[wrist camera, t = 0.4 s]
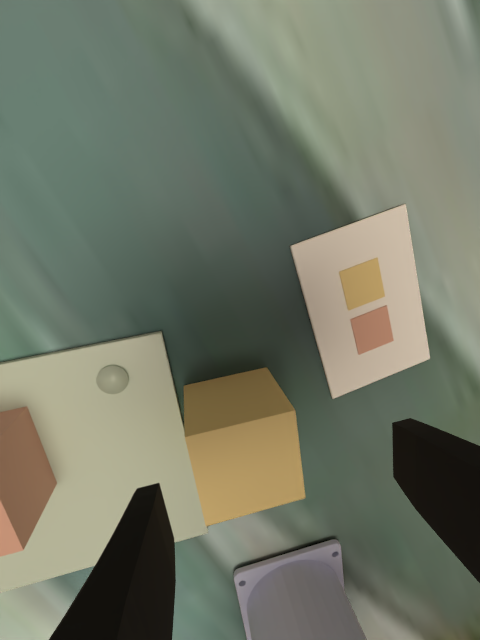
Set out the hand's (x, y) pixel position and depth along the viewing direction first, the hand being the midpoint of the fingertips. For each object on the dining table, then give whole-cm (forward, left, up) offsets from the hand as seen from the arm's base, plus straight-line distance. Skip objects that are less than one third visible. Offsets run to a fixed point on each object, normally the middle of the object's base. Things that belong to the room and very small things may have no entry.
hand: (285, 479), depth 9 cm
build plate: (-4, +12, -9) cm, 16 cm away
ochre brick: (-3, +1, -10) cm, 10 cm away
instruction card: (+2, -8, -9) cm, 13 cm away
